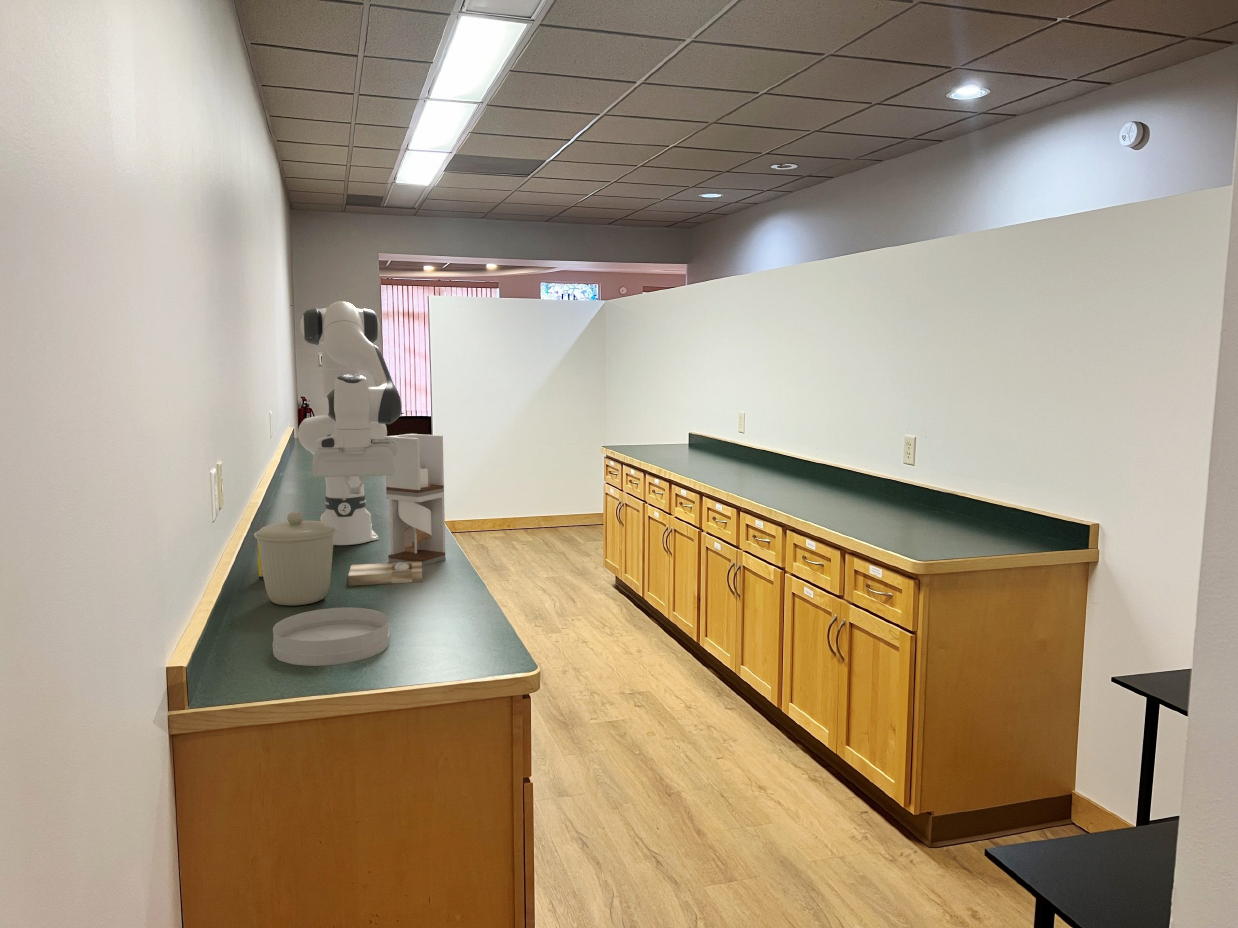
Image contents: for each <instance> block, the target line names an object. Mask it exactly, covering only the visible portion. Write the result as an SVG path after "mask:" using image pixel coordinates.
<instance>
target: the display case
mask: <svg viewBox="0 0 1238 928" xmlns="http://www.w3.org/2000/svg"><path fill="white" fill-rule="evenodd" d="M385 439H390V441H393V442H394V443H395V444H396V454H395V456H394V460H395V469H396V472H395V473H394V474H393V475H389V476H385V493H386V500H389V524H390V525H389V526H390V527H389V528H390V553H389V554H388V555H387V557H388V559H387V560H388V562H387V563H397V562H417V561H422V567H424V566H427V565H430V564H433V563H437V562H441V561H444V560H446V524H445V523H446V522H445V521H446V519H445V515H446V514H445V474H444V473H445V472H444V471H445V470H444V436H443V435H441V434H440V435H439V434H438V435H437V434H418V433H405V434H399V435H387V437H385ZM390 443H392V442H390Z"/></svg>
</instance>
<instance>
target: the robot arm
mask: <svg viewBox="0 0 1238 928" xmlns="http://www.w3.org/2000/svg"><path fill="white" fill-rule="evenodd" d="M299 325H300V326H299V327H300V331H301V335H302V336H303V339H304V341H305V342H307V343H308V344H310V345H315V346H318V345H322V349H321V383H322V384H321V389H322V394H323V396H324V397H325V399H327V402H328V414H324V415H323V414H322V415H315V416H311V417H306V418H304V419H303V420H302V421H301V423H300V424H299V426H298V430H297V437H298V441H299V443H300V445H301V446H302V448H304V449H305V450H306V451H308V452H309V453H311V454H312V455H313V456H312V463H311V472H312V473H311V474H312V475H313V477H314V478H324V480H325V490H326V491H325V492H326V493H325V494H326V495H325V497H324V504H325V505H324V508H325V511H324V512H323V513H322V514H321V515H320V522H325V523H328V524H329V525H331V526H333V527H335V528H336V529H337V531H336V533H335V534H334V539H333V546H351V545H359V544H365V543H367V542H371V541H372V542H373V541H378V540H379V535H378V534H377V533H376V532H375V531H374V530H373V524H372V514H371V513H370V511H368V510H367V509H366V506H367V498H366V494H365V484H364V483H365V481H366V477H380V476H381V477H382V476H385V477H386V476H389V475H393V474H394V473H395V472H396V469H395V460H394V456H395V454H396V444H395V443H394V442H393V441H390V439H385V437H387V436H388V430H387V429H388V428H387V425H391V424H393V423H394V422H395V421H397V420H398V419H399V418H400V417H401V414H402V409H403V405H402V397H401V395H400V393H399V391H398V389H397V387H396V386H395V384H394V382H393V381H394V380H393V378H392V376H391V374H390V372H389V369H388V366H387V363H386V360H385V358H384V356H383V354H382V352H381V350H380V348H379V347H378V346H377V345H375V344H374V343H376V341H377V340H378V337H379V335H380V331H381V324H380V320H379V318H378V315H377V313H376V312H375V311H374V310H372V309H368V308H357V307H355V305H353V304H352V303H350V302H347V301H334V302H333V303H331V304H330V305H328V306H327V307H325V308H323V307H322V308H317V307H314V308H309V309H306V310H305V311H304V312H303V315H302V316H301V319H300V323H299ZM360 370H361V371H364V372H367V373H369V374H370V375H371V377H372V379H373V382H374V385H373V386H369V383H368V379H367V377H365V376H364V375H361V373H360V372H361V371H360ZM390 442H392V443H390Z"/></svg>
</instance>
